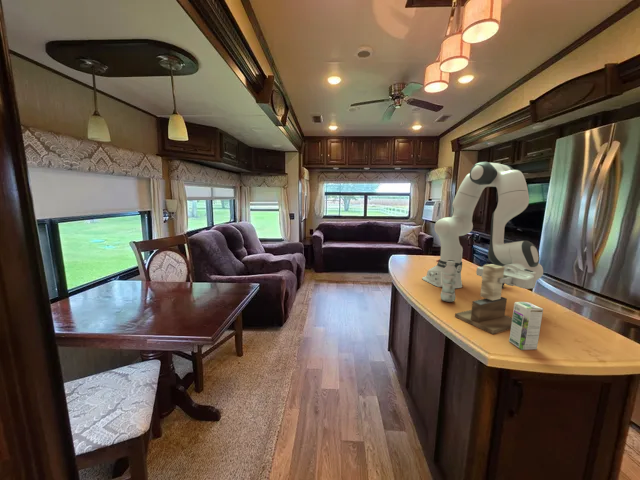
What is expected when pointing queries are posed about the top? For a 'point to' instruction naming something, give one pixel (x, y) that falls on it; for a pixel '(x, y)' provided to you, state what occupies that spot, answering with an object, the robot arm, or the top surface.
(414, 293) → the top surface
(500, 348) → the top surface
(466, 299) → the top surface
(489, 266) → the ash post
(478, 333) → the top surface
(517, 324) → the syrup box
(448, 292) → the plastic bottle
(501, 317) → the ridge
